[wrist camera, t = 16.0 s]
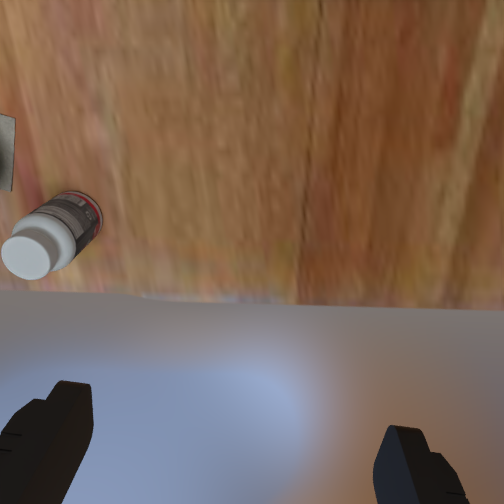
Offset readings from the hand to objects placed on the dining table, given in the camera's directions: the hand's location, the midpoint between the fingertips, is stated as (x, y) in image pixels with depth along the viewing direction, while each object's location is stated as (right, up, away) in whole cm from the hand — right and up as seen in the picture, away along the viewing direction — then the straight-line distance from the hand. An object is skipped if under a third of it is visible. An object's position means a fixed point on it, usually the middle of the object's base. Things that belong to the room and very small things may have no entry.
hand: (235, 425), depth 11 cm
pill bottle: (-17, +8, +31) cm, 36 cm away
